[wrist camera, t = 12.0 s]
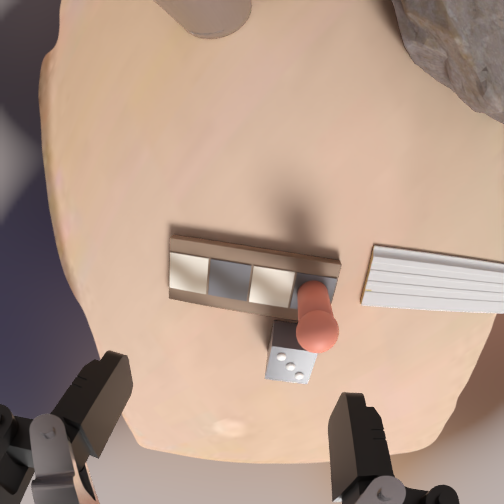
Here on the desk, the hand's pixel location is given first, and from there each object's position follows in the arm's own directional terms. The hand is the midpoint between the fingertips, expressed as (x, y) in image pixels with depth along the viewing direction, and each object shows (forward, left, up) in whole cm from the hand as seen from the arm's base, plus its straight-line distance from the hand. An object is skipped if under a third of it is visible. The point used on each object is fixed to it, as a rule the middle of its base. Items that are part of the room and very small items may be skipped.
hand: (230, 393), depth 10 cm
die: (+19, +6, -29) cm, 35 cm away
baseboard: (+5, +29, -30) cm, 42 cm away
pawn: (+10, +7, -28) cm, 30 cm away
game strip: (+10, -1, -29) cm, 31 cm away
